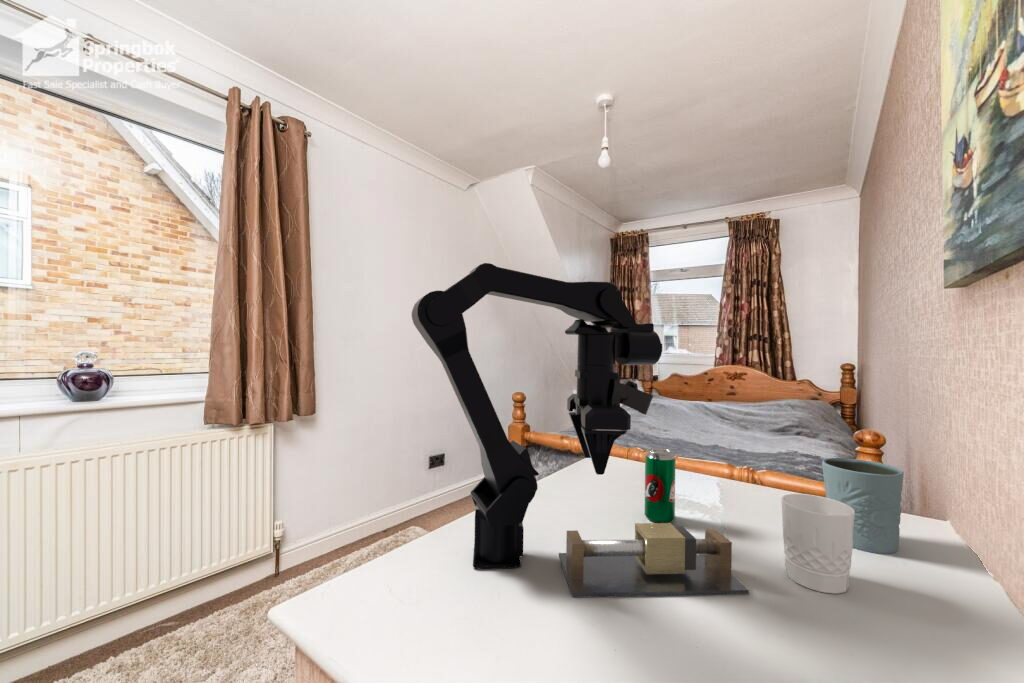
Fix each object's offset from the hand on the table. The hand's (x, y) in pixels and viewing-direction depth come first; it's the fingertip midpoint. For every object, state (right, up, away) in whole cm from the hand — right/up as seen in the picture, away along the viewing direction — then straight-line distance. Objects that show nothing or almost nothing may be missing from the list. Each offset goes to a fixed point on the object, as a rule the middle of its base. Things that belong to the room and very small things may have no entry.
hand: (593, 465), depth 67 cm
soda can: (+13, -12, +9) cm, 20 cm away
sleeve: (+7, -11, -9) cm, 16 cm away
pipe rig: (+5, -12, -9) cm, 16 cm away
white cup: (+27, -12, -10) cm, 32 cm away
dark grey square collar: (+10, -10, -9) cm, 17 cm away
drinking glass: (+43, -13, +2) cm, 45 cm away
